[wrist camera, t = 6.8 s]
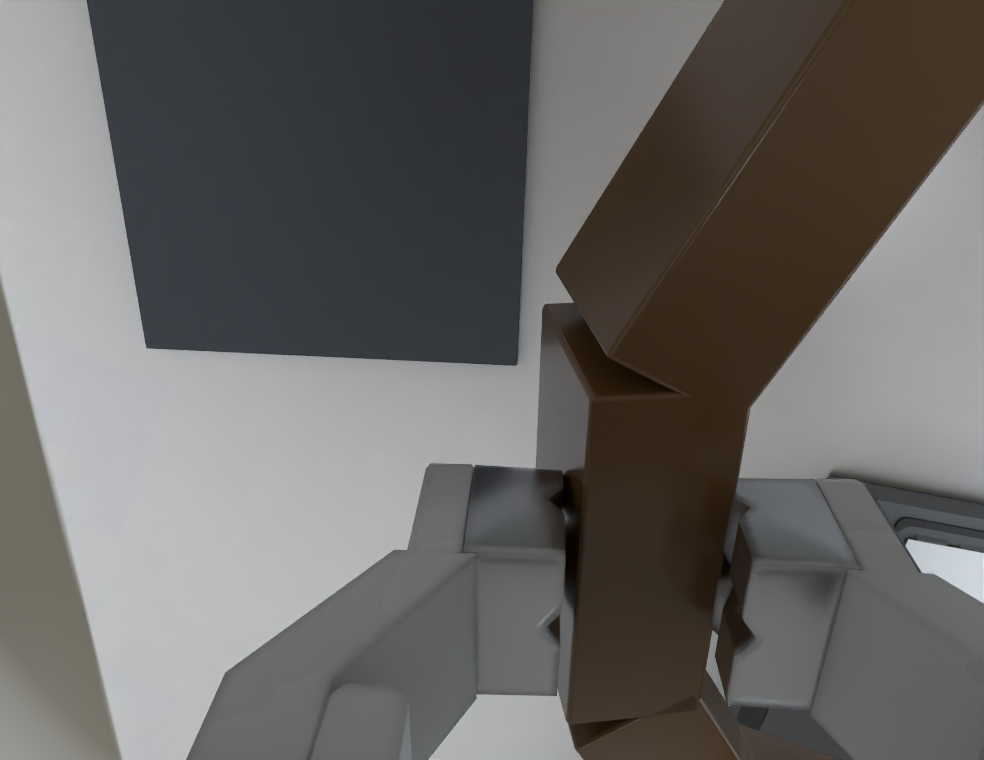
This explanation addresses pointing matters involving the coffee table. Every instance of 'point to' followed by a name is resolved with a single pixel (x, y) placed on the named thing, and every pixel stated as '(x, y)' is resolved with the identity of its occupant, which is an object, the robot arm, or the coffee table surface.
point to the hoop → (719, 328)
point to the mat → (322, 172)
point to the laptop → (932, 549)
